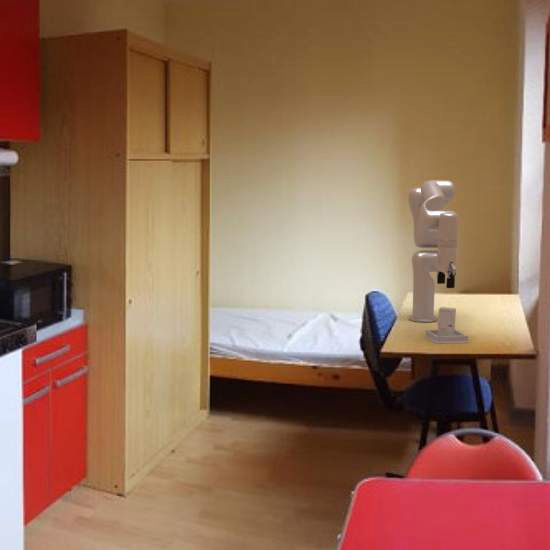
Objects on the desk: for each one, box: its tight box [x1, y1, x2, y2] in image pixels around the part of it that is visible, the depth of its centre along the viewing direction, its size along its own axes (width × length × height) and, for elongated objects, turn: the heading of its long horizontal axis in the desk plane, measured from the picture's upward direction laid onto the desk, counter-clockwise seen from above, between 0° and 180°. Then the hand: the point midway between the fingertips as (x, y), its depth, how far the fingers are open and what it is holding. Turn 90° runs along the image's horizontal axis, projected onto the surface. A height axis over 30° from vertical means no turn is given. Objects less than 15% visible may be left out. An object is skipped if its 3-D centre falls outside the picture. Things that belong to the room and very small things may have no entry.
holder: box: [424, 329, 469, 344], centre depth 316 cm, size 13×13×3 cm
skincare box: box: [437, 306, 457, 336], centre depth 316 cm, size 6×4×12 cm
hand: (445, 285), depth 316 cm, fingers open, 9 cm apart
